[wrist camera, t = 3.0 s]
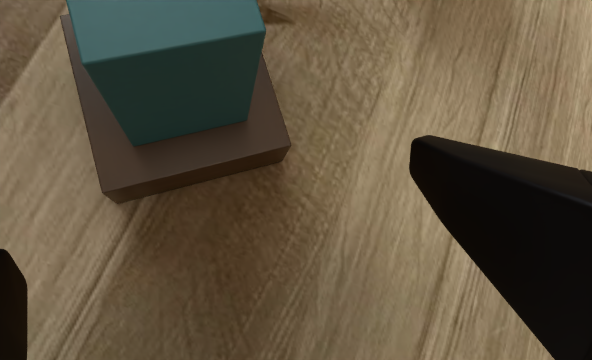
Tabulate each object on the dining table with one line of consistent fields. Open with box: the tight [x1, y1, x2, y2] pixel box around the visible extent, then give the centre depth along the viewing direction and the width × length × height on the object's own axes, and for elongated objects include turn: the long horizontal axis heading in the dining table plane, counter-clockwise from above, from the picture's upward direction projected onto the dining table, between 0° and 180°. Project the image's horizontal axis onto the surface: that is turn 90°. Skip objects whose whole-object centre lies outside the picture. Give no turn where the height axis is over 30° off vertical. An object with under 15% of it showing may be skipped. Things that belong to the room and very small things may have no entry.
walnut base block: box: [60, 14, 291, 204], centre depth 22 cm, size 9×9×3 cm
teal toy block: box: [66, 0, 266, 146], centre depth 17 cm, size 6×6×8 cm
